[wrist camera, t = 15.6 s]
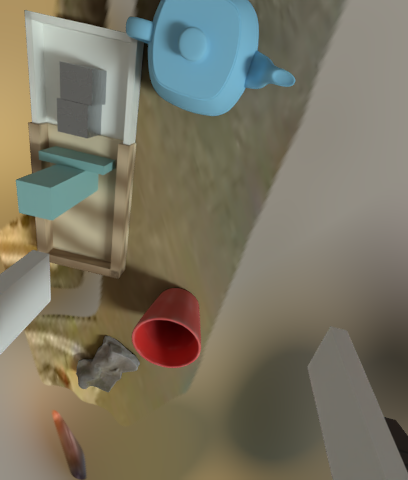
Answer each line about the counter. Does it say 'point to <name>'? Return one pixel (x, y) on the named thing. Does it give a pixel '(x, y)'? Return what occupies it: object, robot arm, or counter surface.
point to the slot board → (88, 206)
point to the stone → (106, 365)
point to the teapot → (205, 53)
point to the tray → (86, 54)
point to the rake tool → (60, 182)
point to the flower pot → (170, 330)
